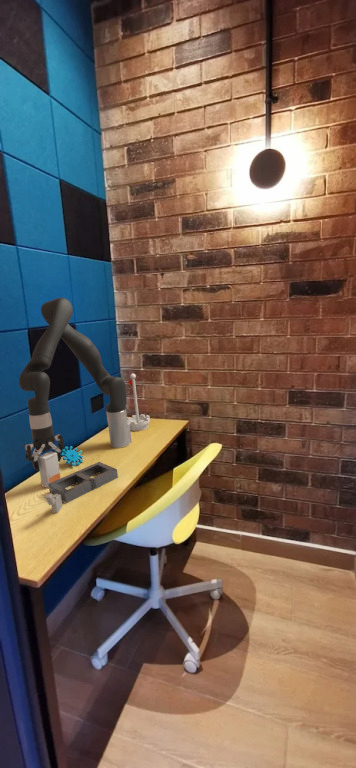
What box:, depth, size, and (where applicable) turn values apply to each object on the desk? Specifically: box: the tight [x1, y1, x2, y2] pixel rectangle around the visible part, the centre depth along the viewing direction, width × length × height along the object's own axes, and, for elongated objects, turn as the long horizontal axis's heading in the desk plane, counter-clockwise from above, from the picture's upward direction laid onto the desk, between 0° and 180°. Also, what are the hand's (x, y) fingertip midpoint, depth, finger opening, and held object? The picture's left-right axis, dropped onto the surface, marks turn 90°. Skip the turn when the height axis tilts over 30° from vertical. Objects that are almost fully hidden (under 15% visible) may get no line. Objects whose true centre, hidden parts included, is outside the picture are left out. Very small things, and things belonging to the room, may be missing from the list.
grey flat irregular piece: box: [44, 493, 63, 514], centre depth 114 cm, size 7×2×8 cm, turn 175°
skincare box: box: [37, 450, 62, 489], centre depth 133 cm, size 6×4×12 cm
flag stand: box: [127, 373, 151, 432], centre depth 188 cm, size 13×13×30 cm
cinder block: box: [48, 461, 119, 504], centre depth 131 cm, size 22×12×4 cm, turn 137°
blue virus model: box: [60, 445, 84, 467], centre depth 151 cm, size 11×6×10 cm
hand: (47, 465), depth 133 cm, fingers open, 8 cm apart
